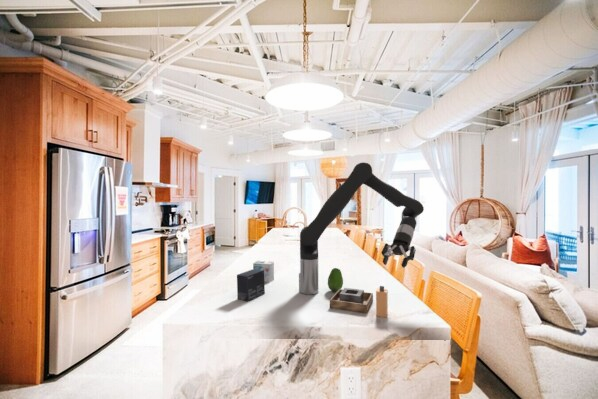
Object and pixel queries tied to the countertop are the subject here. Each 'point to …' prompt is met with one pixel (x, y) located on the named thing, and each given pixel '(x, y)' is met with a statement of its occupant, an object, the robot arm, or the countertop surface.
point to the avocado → (335, 280)
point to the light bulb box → (265, 269)
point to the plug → (382, 302)
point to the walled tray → (351, 305)
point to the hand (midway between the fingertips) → (393, 265)
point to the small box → (250, 284)
